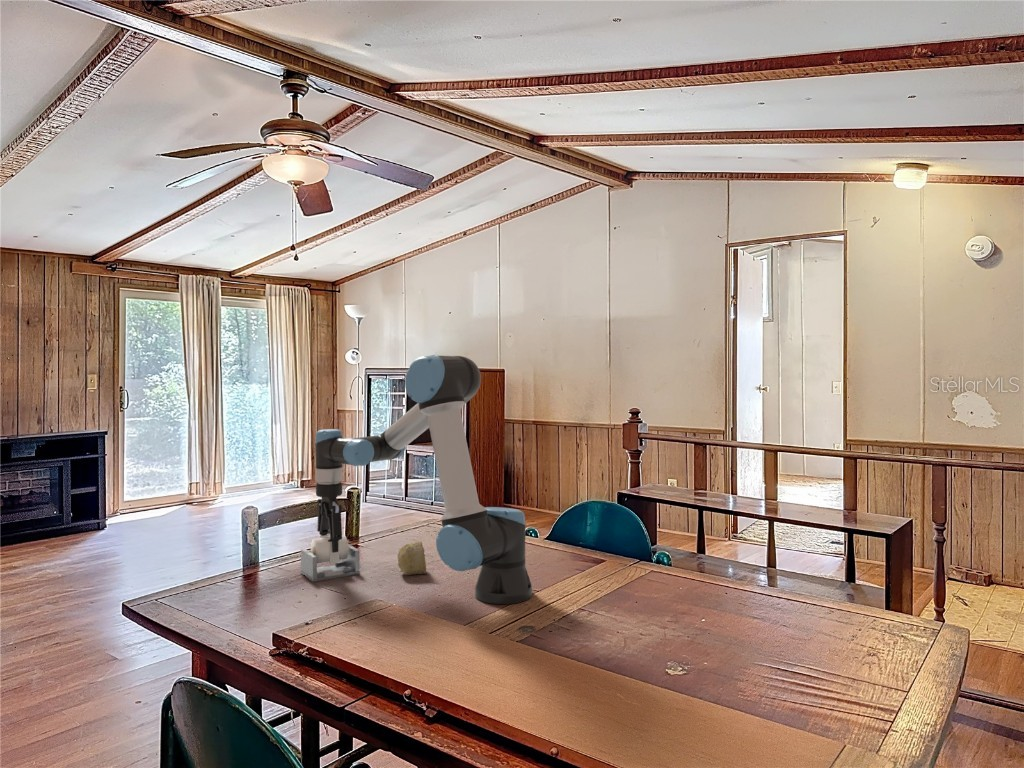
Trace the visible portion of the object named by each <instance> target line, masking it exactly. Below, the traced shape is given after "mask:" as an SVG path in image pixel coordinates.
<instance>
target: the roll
mask: <svg viewBox="0 0 1024 768" xmlns="http://www.w3.org/2000/svg"><path fill="white" fill-rule="evenodd" d="M329 539H330V537H325V538H320V537H319V538H317V537H316V538H313V539H312V540H311V543H310V552H311V553H312V554H314V555H315V556H317V564H322V563H326V562H327V563H329V542H328V540H329ZM348 544H349V541H348V538H347V536H346V535H345V534H342V539H341V540H339V561H340V560H341V561H342V559H346V558H347V557H348V553H349V546H348Z"/></svg>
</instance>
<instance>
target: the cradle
mask: <svg viewBox="0 0 1024 768" xmlns="http://www.w3.org/2000/svg"><path fill="white" fill-rule="evenodd" d="M348 546H349V553H348V557H347V558H346V559H341V561H339V563H334V564H329V565H325V566H318V563H317V556H315V555H314V554H312V553H311V551H309V550H308V549H306V548H301V549H300V574H302V576H304V575H305V576H306V577H305V576H304V577H305V578H307V579H308V580H310V581H311V582H312V583H315V582H320V581H327V580H332V579H339V578H344V577H349V576H355V575H360V574H361V573H360V549H358V548H356V547H354V546H353V545H350V544H349V543H348Z"/></svg>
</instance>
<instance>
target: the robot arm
mask: <svg viewBox="0 0 1024 768" xmlns="http://www.w3.org/2000/svg"><path fill="white" fill-rule="evenodd" d="M481 383H482V374H481V371H480V369H479V367H478V365H477V364H476V363H475V361H473V360H471V358H469V357H466V356H461V355H437V354H431V355H424V356H419V357H418V358H416V359H414V360H413V362H412V363H411V364H410V365H409V368H408V369H407V371H406V374H405V377H404V387H405V390H406V394H407V396H408V398H410V399H411V400H412V401H414V402H415V403H416V404H415V405H414V406H412V407H411V408H410V409H409V410H408V411H407V412H406V413H404V414H403V415H402V416H401V417H399V419H397V420H395V422H394V423H392V425H390V426H389V427H387V429H385V430H384V431H383V432H382V433H381V434H379V435H378V434H377V435H373V436H372V435H370V436H363V437H353V438H352V437H343V433H342V430H341V429H337V428H331V429H330V428H329V429H327V428H326V429H325V428H324V429H319V430H318V431H316V433H315V443H314V444H315V445H314V446H315V447H314V448H315V481H316V484H315V495H316V496H317V497H320V498H318V499H317V528H316V530H317V532H319V535H320V537H319V538H325V537H330V539H329V540H328V542H329V561H328V563H329V565H333V564H335V563H339V562H340V560H339V540H341V539H342V535H343V531H342V530H343V529H342V528H343V527H342V505H341V504H339V503H338V498H337V497H340V496H342V494H343V483H342V481H343V473H344V469H343V465H347V466H348V465H350V466H354V467H359V466H360V467H363V466H367V465H368V464H369V463H374V462H381V461H392V460H395V459H399V458H400V457H402V456H403V455H404V453H405V450H406V448H407V446H408V445H409V444H411V443H412V442H413V441H414V440H416V439H417V438H419V436H420V435H422V434H423V433H424V432H426V431H427V430H429V432H430V439H431V443H432V449H433V452H434V453H433V454H434V458H435V465H436V469H437V475H438V479H439V483H440V484H439V485H440V488H441V489H440V490H441V495H442V498H443V504H444V510H445V511H444V513H443V515H442V516H441V518H440V520H441V525H442V528H441V529H440V530H439V531H438V534H437V536H436V539H435V540H436V541H435V545H436V550H437V554H438V555H439V557H440V559H441V561H442V562H443V563H444V565H447V566H448V568H450V569H451V570H454V571H456V572H465V571H470V570H476V569H477V568H479V567H480V571H479V573H478V577H477V579H476V584H475V587H474V597H475V598H476V599H477V600H478V601H480V602H484V603H489V604H497V605H511V604H517V603H523V602H526V601H527V600H529V599H531V598H532V597H533V585H532V582H531V580H530V576H529V573H528V570H527V566H526V527H527V525H526V516H525V512H523V511H522V510H520V509H516V508H510V507H502V506H501V507H499V506H486V507H485V506H483V505H482V504H480V501H479V495H478V492H477V491H478V490H477V486H476V481H475V476H474V470H473V466H472V461H471V457H470V451H469V447H468V442H467V438H466V437H467V436H466V431H465V428H464V423H463V417H462V414H461V412H462V411H461V410H462V409H463V407H464V406H465V404H467V403H468V402H469V401H470V400H471V399H472V398H474V396H475V395H477V393H478V391H479V389H480V387H481Z"/></svg>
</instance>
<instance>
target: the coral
mask: <svg viewBox="0 0 1024 768" xmlns="http://www.w3.org/2000/svg"><path fill="white" fill-rule="evenodd" d="M397 561H398V562H397V566H398V568H399V569H400V571H401V572H402V573H403V574H404V575H407V576H413V575H423V574H427V573H428V572H427V564H426V554H425V548H424V545H423V542H422V540H421V541H415V542H411V543H406V544H405V545H402V546H401V547H400V549H399V550H398V553H397Z"/></svg>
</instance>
